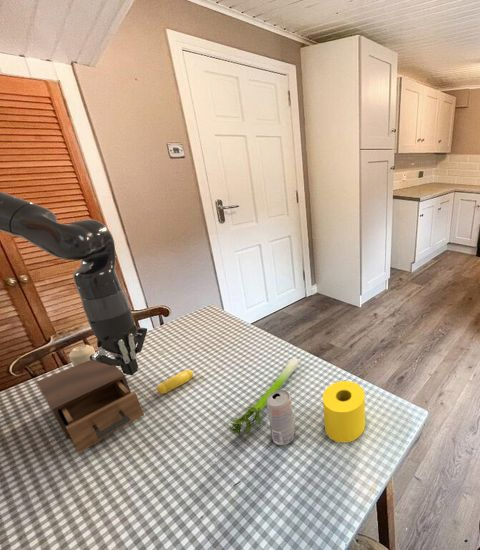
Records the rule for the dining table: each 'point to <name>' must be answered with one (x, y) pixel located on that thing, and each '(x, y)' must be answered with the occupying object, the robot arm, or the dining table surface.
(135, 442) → the dining table surface
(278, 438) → the energy drink
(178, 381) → the yellow round-top cylinder
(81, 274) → the robot arm
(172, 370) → the dining table surface
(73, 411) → the drawer
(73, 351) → the candle
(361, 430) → the yellow toilet paper roll
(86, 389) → the cabinet
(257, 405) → the celery stalk
